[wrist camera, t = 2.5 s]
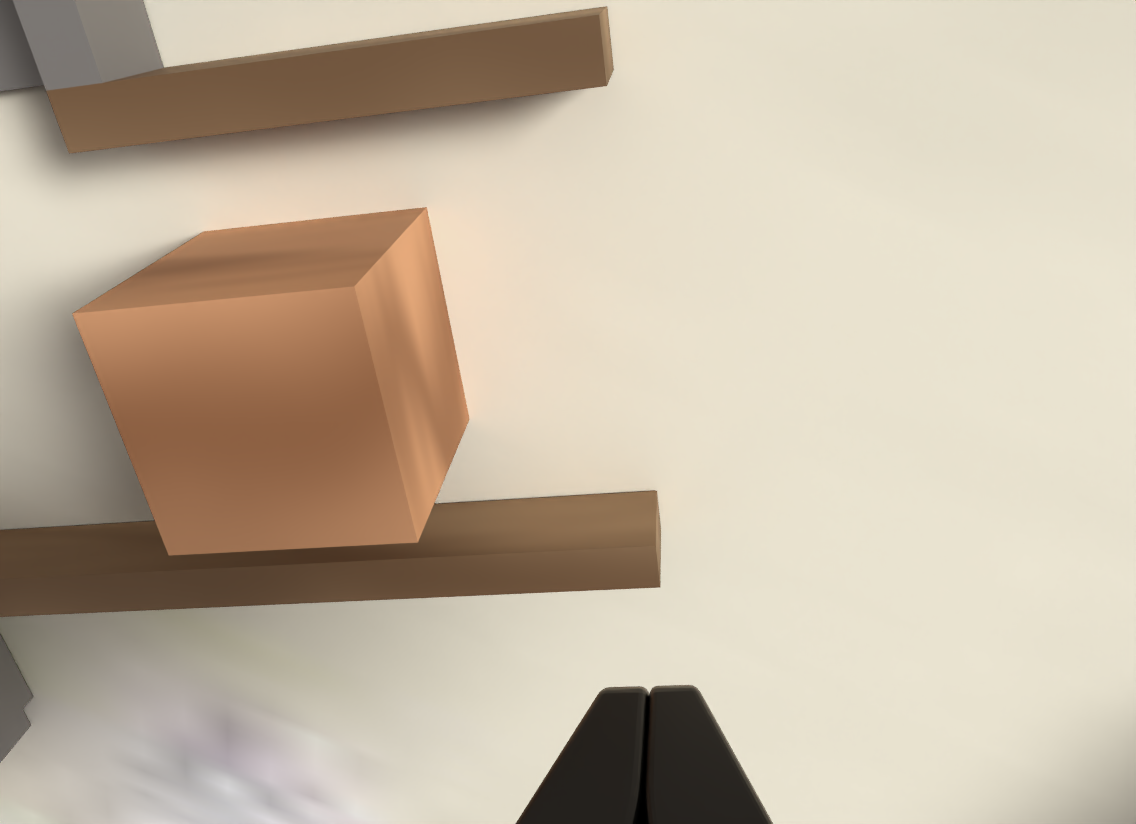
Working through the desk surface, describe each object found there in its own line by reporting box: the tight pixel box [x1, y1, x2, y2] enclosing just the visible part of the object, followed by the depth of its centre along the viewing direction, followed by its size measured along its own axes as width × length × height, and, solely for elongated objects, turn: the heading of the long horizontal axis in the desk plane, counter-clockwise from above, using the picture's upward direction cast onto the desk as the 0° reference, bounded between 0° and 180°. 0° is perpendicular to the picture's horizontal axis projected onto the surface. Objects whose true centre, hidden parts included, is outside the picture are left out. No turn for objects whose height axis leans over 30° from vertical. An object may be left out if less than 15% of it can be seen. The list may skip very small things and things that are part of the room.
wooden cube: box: [72, 207, 469, 556], centre depth 16 cm, size 4×4×4 cm
